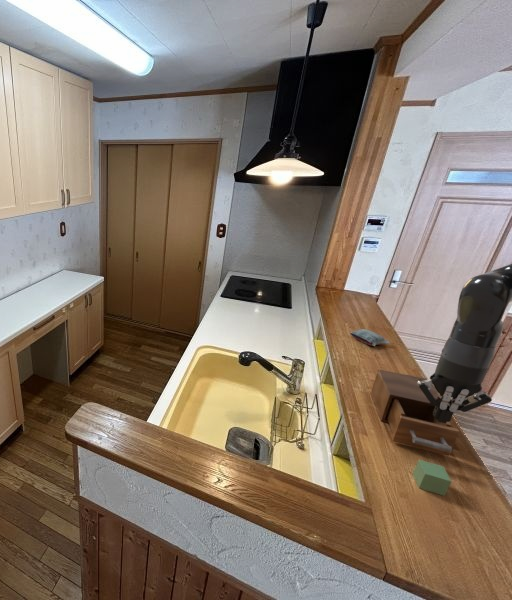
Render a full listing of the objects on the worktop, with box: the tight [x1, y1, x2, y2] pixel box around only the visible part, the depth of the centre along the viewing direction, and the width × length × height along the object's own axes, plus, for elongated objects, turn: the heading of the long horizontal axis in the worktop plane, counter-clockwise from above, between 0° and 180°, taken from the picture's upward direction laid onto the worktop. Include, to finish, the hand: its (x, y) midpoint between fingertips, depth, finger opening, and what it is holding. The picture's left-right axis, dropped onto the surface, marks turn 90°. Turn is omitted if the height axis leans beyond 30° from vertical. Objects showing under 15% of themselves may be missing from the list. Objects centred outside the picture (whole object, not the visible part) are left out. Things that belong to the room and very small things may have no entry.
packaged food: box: [349, 328, 391, 347], centre depth 141 cm, size 9×12×5 cm
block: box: [412, 459, 452, 497], centre depth 75 cm, size 4×4×4 cm
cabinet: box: [370, 369, 438, 424], centre depth 98 cm, size 15×13×10 cm
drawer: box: [386, 397, 460, 457], centre depth 87 cm, size 18×11×8 cm, turn 153°
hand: (440, 420), depth 78 cm, fingers closed
